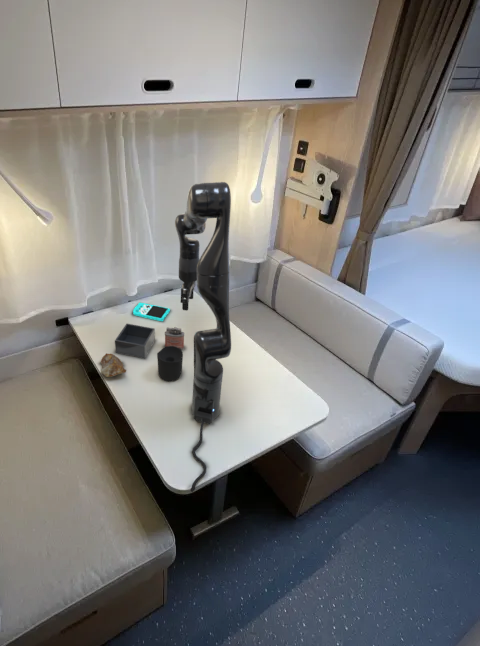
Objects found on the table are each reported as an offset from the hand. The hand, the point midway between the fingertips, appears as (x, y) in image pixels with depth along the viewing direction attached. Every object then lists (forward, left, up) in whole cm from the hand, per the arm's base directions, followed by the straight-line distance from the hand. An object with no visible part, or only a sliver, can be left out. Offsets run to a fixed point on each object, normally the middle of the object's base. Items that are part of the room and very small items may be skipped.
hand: (187, 304), depth 155 cm
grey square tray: (-7, +20, -20) cm, 29 cm away
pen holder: (-19, +1, -20) cm, 28 cm away
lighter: (-3, +4, -20) cm, 21 cm away
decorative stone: (-23, +23, -20) cm, 39 cm away
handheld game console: (+19, +22, -20) cm, 36 cm away
